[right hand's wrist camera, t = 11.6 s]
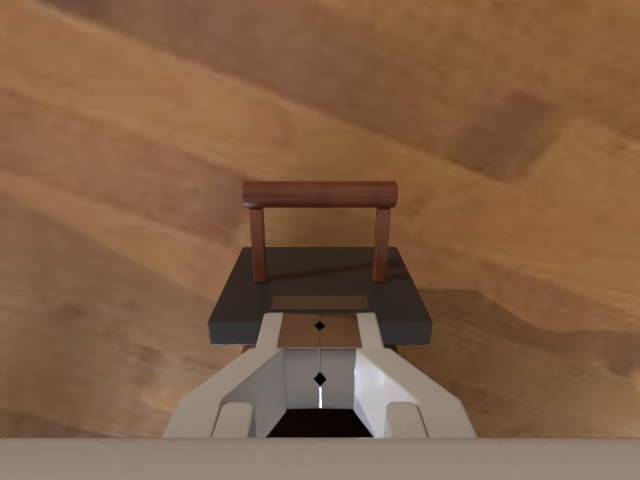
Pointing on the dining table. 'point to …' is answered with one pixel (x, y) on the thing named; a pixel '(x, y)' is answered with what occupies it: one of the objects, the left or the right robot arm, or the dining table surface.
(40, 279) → the dining table surface
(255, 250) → the drawer
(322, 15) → the dining table surface
